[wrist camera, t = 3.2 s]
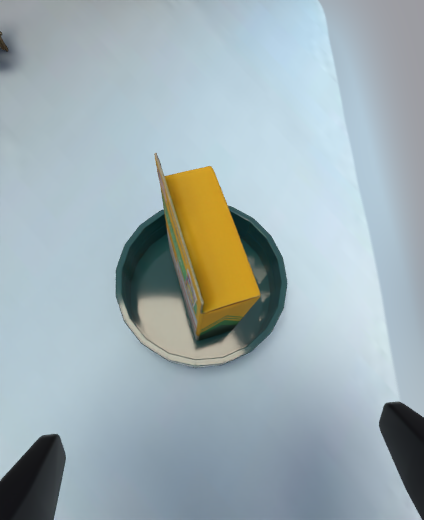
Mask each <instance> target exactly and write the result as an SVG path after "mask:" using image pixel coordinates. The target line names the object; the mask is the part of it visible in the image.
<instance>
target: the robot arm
mask: <svg viewBox="0 0 424 520" xmlns="http://www.w3.org/2000/svg"><path fill="white" fill-rule="evenodd" d="M379 427H380V431H381V433H382V436H383V438H384V440H385V442H386V445H387V447H388V449H389V452H390V454H391V456H392V459H393V461H394V463H395V466H396V468H397V470H398V472H399V475H400V477H401V479H402V481H403V484H404V486H405V488H406V490H407V492H408V494H409V496H410V498H411V500H412V502H413V503H414V505H415V507H416V509H417V511H418V513H419V515H420V516H421V518H422V520H424V417H422V416H421V415H419V414H418V413H416V412H415V411H413V410H412V409H410V408H409V407H408V406H406V405H405V404H403V403H401V402H389V403H386V404H385V405H384V407H383V411H382V414H381V417H380V421H379ZM65 460H66V455H65V451H64V448H63V445H62V442H61V439H60V436H59V435H58V434H50V435H43V436H41V437H40V438H39V439H38V440H37V441H36V442H35V443H34V444H33V445H32V446H31V447H30V449H29V450H28V451H27V452H26V453H25V454H24V455H23V456H22V457H21V458H20V460H19V461H18V462H17V463H16V464H15V465H14V466H13V467H12V468H11V470H10V471H9V472H8V473H7V474H6V475H5V476H4V477H3V478H2V479H1V481H0V520H54V515H55V510H56V506H57V501H58V496H59V491H60V486H61V481H62V476H63V471H64V466H65Z"/></svg>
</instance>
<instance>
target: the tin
mask: <svg viewBox="0 0 424 520" xmlns="http://www.w3.org/2000/svg"><path fill="white" fill-rule="evenodd" d="M228 208H229V211H230V214H231V216H232V219H233V221H234V224H235V226H236V229H237V232H238V235H239V237H240V240H241V243H242V245H243V248H244V251H245V253H246V256H247V259H248V262H249V264H250V267H251V269H252V272H253V275H254V277H255V280H256V283H257V285H258V288H259V291H260V298H259V299H258V300H257V301H256V302H255V304H254V305H253V306H252V307H251V308H250V309H249V311H248V312H247V313H246V314H245V315H244V317H243V318H242V319H241V320H240V321H239V323H238V324H237V325H236V326H235V327H234V329H233V330H231V331H228V332H225V333H222V334H219V335H216V336H213V337H209V338H206V339H203V340H196V339H195V336H194V332H193V329H192V326H191V322H190V319H189V316H188V312H187V309H186V306H185V302H184V298H183V295H182V291H181V288H180V284H179V281H178V277H177V274H176V271H175V267H174V264H173V260H172V257H171V253H170V248H169V241H168V234H167V225H166V219H165V212H164V210H161V211H159V212H158V213H156V214H155V215H153V216H152V217H151V218H149V219H148V220H146V221H145V222H144V223H142V224H141V225H140V226H139V227H138V228H137V230H136V231H135V232H134V234H133V235H132V236H131V237H130V239H129V240H128V241H127V243H126V244H125V246H124V248H123V251H122V254H121V257H120V259H119V262H118V265H117V268H116V298H117V301H118V304H119V307H120V310H121V313H122V316H123V319H124V321H125V323H126V324H127V326H128V327H129V328H130V329H131V331H132V332H133V333H134V335H135V336H136V337H137V338H138V340H139V341H140V342H141V343H142V344H143V345H144V346H146V347H147V348H149V349H150V350H152V351H154V352H155V353H157V354H158V355H160V356H161V357H163V358H165V359H166V360H168V361H169V362H172V363H176V364H181V365H185V366H189V367H193V368H200V367H210V366H220V365H223V364H225V363H228V362H230V361H232V360H234V359H236V358H239V357H241V356H243V355H245V354H247V353H250V352H251V351H252V350H254V349H255V348H256V347H257V346H258V345H259V344H260V343H261V342H262V341H263V340H264V339H265V338H266V337H267V336H268V335H269V334H270V333H271V332H272V330H273V328H274V326H275V324H276V322H277V321H278V319H279V317H280V315H281V313H282V311H283V308H284V303H285V296H286V289H287V278H286V272H285V267H284V261H283V257H282V255H281V253H280V251H279V250H278V248H277V246H276V244H275V242H274V240H273V238H272V237H271V235H270V234H269V233H268V232H267V231H266V230H265V229H264V228H263V227H262V226H261V225H260V224H259V223H258V222H257V221H256V220H255V219H253V218H252V217H250V216H248V215H246V214H245V213H243V212H241V211H239V210H237V209H235V208H234V207H231V206H228Z"/></svg>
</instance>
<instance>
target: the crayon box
mask: <svg viewBox="0 0 424 520" xmlns="http://www.w3.org/2000/svg"><path fill="white" fill-rule="evenodd" d="M154 155H155V160H156V166H157V172H158V177H159V181H160V186H161V193H162V199H163V207H164V212H165V219H166V225H167V234H168V241H169V248H170V253H171V257H172V260H173V264H174V267H175V271H176V274H177V277H178V281H179V284H180V288H181V291H182V295H183V298H184V302H185V306H186V309H187V312H188V316H189V319H190V322H191V326H192V329H193V332H194V336H195V339H196V340H203V339H206V338H209V337H213V336H216V335H219V334H222V333H225V332H228V331H231V330H233V329H234V327H235V326H236V325H237V324H238V323H239V321H240V320H241V319H242V318H243V317H244V315H245V314H246V313H247V312H248V311H249V309H250V308H251V307H252V306H253V305H254V304H255V302H256V301H257V300H258V299H259V298H260V291H259V288H258V285H257V283H256V280H255V277H254V275H253V272H252V269H251V267H250V264H249V262H248V259H247V256H246V253H245V251H244V248H243V245H242V243H241V240H240V237H239V235H238V232H237V229H236V226H235V224H234V221H233V219H232V216H231V214H230V211H229V208H228V205H227V203H226V200H225V198H224V195H223V193H222V190H221V187H220V185H219V183H218V180H217V178H216V175H215V172H214V170H213V168H212V167H211V166H207V167H204V168H199V169H194V170H190V171H185V172H181V173H177V174H172V175H168V176H164V174H163V171H162V168H161V164H160V161H159V158H158V156H157V153H155V154H154Z"/></svg>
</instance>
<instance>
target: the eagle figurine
mask: <svg viewBox="0 0 424 520" xmlns="http://www.w3.org/2000/svg"><path fill="white" fill-rule="evenodd" d="M1 35H2V32H0V48H1V49H2V50H6V51H7V52H8V48H7V46H6V45H5V43H4V42H3V40H2V38H1Z"/></svg>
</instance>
